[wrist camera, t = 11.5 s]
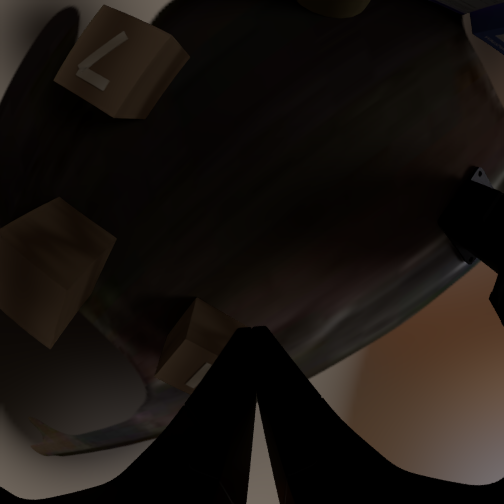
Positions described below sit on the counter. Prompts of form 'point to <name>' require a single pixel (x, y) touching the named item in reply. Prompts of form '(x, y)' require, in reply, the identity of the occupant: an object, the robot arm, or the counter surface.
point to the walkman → (489, 25)
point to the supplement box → (466, 5)
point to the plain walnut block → (50, 267)
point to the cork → (335, 7)
